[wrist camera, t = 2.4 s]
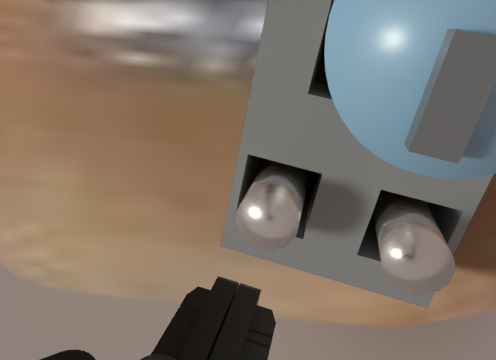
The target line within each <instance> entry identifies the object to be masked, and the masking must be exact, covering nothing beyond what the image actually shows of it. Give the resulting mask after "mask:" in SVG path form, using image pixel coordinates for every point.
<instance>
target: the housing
mask: <svg viewBox="0 0 496 360" xmlns="http://www.w3.org/2000/svg"><path fill="white" fill-rule="evenodd" d="M333 3H334V0H268V5H267V10H266V15H265V20H264V26H263V31H262V36H261V41H260V46H259V51H258V56H257V61H256V66H255V72H254V77H253V82H252V87H251V92H250V97H249V102H248V107H247V113H246V118H245V123H244V128H243V133H242V138H241V143H240V148H239V154H238V159H237V164H236V169H235V174H234V179H233V184H232V189H231V194H230V200H229V205H228V210H227V215H226V220H225V225H224V230H223V235H222V241H221V246H222V247H226V248H229V249H232V250H236V251H239V252H242V253H246V254H249V255H252V256H255V257H259V258H262V259H265V260H269V261H272V262H275V263H279V264H282V265H285V266H289V267H292V268H295V269H299V270H302V271H305V272H309V273H312V274H315V275H319V276H322V277H325V278H329V279H332V280H335V281H338V282H342V283H345V284H348V285H352V286H355V287H358V288H362V289H365V290H368V291H372V292H375V293H378V294H382V295H385V296H388V297H392V298H395V299H398V300H402V301H405V302H408V303H411V304H415V305H418V306H421V307H425V308H428V306H429V304H430V302H431V300H432V298H433V296H434V294H435V292H434V293H430V294H425V295H412V294H407V293H404V292H401V291H399V290H397V289H396V288H394V287H393V286H392V285H390V283H389V282H388V281H387V280H386V278H385V276H384V274H383V270H382V264H381V258H380V252H379V246H378V240H377V235H376V229H375V223H374V220H372V219H370V218H371V216H372V213H373V210H374V207H375V205H376V202H377V199H378V197H379V194H380V191H381V190H385V191H389V192H392V193H396V194H400V195H404V196H407V197H411V198H415V199H419V200H423V201H426V202H428V204H427V205H428V207H429V209H430V211H431V213H432V215H433V217H434V219H435V221H436V223H437V225H438V227H439V229H440V231H441V233H442V235H443V237H444V239H445V241H446V243H447V245H448V247H449V249H450V251H451V253H452V255H454V253H455V251H456V249H457V247H458V245H459V243H460V241H461V239H462V237H463V235H464V233H465V231H466V229H467V227H468V225H469V223H470V221H471V219H472V217H473V215H474V213H475V211H476V209H477V207H478V205H479V203H480V201H481V199H482V197H483V195H484V193H485V191H486V189H487V187H488V185H489V183H490V181H491V179H492V177H493V175H494V174H492V175H488V176H481V177H474V178H458V179H449V178H436V177H430V176H424V175H419V174H415V173H412V172H409V171H406V170H403V169H400V168H398V167H396V166H394V165H392V164H390V163H387V162H386V161H384V160H382V159H381V158H379V157H378V156H376V155H375V154H373V153H372V152H371V151H369V150H368V149H367V148H366V147H365V146H363V145H362V144H361V143H360V142H359V141H358V140H357V139H356V137H355V136H354V135H353V134H352V133H351V132H350V131H349V129H348V128H347V126H346V125H345V123H344V122H343V120H342V119H341V117H340V115H339V113H338V111H337V109H336V107H335V105H334V103H333V100H332V97H331V94H330V91H329V88H328V84H324V83H320V82H315V77H316V73H317V70H318V66H319V62H320V58H321V54H322V50H323V47H324V43H325V36H326V30H327V25H328V20H329V15H330V12H331V9H332V6H333ZM259 157H260V158H264V159H268V160H272V161H275V162H279V163H283V164H287V165H290V166H294V167H298V168H302V169H306V170H309V171H313V172H317V173H318V177H317V180H316V183H315V187H314V190H313V194H312V197H311V201H310V202H307V201H304V204H303V209H302V213H301V218H300V222H299V227H298V231H297V234H296V237H295V238H294V240H293V241H292V242H291V243H290V244H289V245H288V246H286V247H285V248H283V249H280V250H276V251H263V250H259V249H257V248H254V247H252V246H251V245H249V244H248V243H247V242H245V241H244V240H243V238H242V237H241V236H240V234H239V233H238V230H237V228H236V223H235V216H236V212H237V209H238V207H239V206H240V204H241V202H242V200H243V199H244V197H245V195H246V194H247V192H248V190H249V188H250V187H251V185H252V183H253V182H254V180H255V176H256V171H257V167H258V162H259Z"/></svg>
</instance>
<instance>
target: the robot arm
mask: <svg viewBox="0 0 496 360" xmlns="http://www.w3.org/2000/svg"><path fill="white" fill-rule="evenodd" d="M238 286H239V287H238ZM260 292H261V290H260V289H257V288H254V287H251V286H248V285H245V284H241V283H240V285H239V283H238V282H235V281H232V280H228V279H225V278H222V277H218V278H217V279H216V281H215V283H214V285H213V287H212V289H211V290H208V289H205V288H201V287H197V288H196V289H194V290H193V291H191V292H190V293H188V294H187V295H186V297H185V298H184V300H183V302H182V303H181V305H180V308H179V309H178V310H177V312H176V314H175V316H174V317H173V319H172V320H171V322H170V324H169V325H168V327H167V329H166V330H165V332H164V334H163V335H162V337H161V339H160V340H159V342H158V344H157V345H156V347H155V349H154V350H153V352H152V353H151V355H149V356H147V357H144V358H143V359H141V360H267V359H268V354H269V350H270V346H271V342H272V337H273V332H274V328H275V324H276V322H275V319H274V315H273V312H272V310H270V309H267V308H264V307H261V306H258V305H257V304H258V300H259V296H260ZM40 360H95V358H94V357H93V356H92V355H91V354H89V353H87V352H85V351H81V350H67V351H63V352H59V353H57V354H54V355H51V356H49V357H46V358H43V359H40Z"/></svg>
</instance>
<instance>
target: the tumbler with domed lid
mask: <svg viewBox="0 0 496 360" xmlns="http://www.w3.org/2000/svg"><path fill="white" fill-rule="evenodd" d="M324 57H325V72H326V77H327V82H328V88H329V91H330V94H331V97H332V100H333V103H334V105H335V107H336V109H337V111H338V113H339V115H340V117H341V119H342V120H343V122H344V123H345V125H346V126H347V128H348V129H349V131H350V132H351V133H352V134H353V135H354V136H355V137H356V139H357V140H358V141H359V142H360V143H361V144H362V145H363V146H365V147H366V148H367V149H368V150H369V151H371V152H372V153H373V154H375V155H376V156H378V157H379V158H381V159H382V160H384V161H386V162H387V163H390V164H392V165H394V166H396V167H398V168H400V169H403V170H406V171H409V172H412V173H415V174H419V175H424V176H430V177H436V178H449V179H458V178H474V177H481V176H488V175H492V174H496V0H334V3H333V6H332V9H331V12H330V15H329V20H328V25H327V30H326V36H325V50H324Z"/></svg>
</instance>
